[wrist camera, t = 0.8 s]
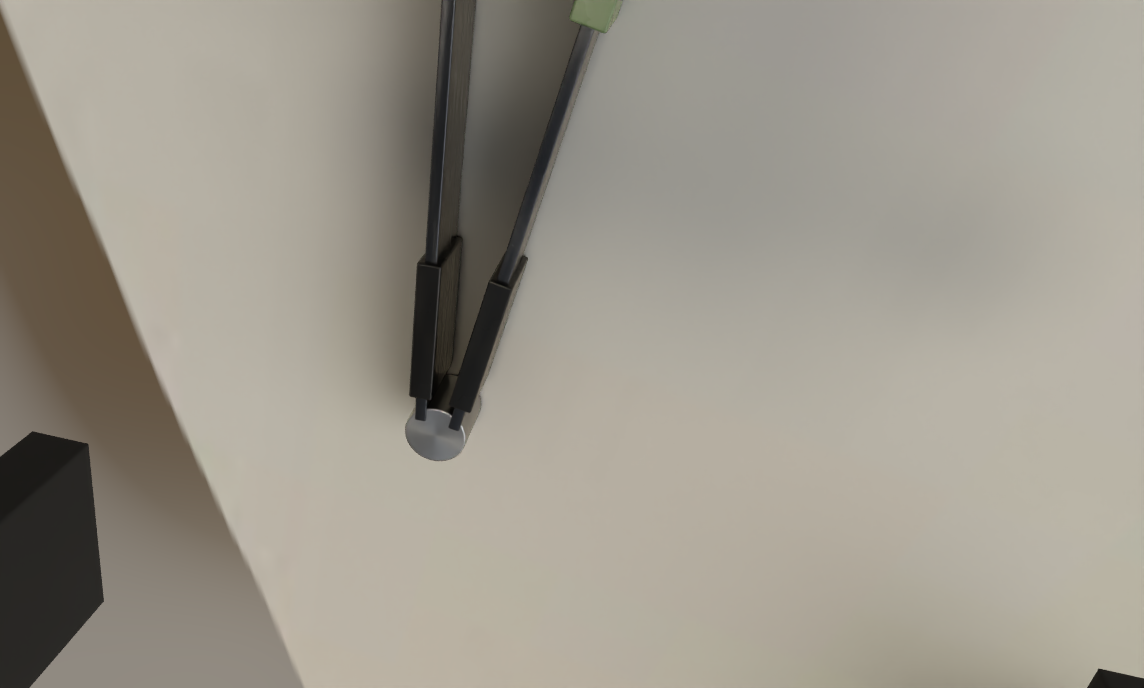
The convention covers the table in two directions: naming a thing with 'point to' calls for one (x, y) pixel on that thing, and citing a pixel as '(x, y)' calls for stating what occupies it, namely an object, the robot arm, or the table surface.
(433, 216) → the tongs
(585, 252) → the table surface
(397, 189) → the table surface
